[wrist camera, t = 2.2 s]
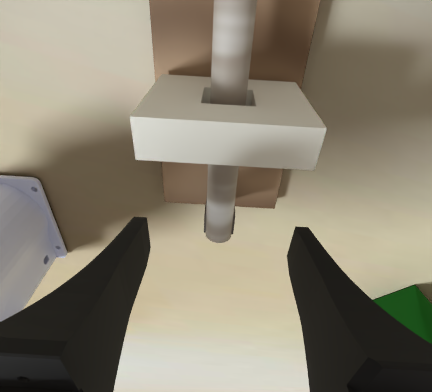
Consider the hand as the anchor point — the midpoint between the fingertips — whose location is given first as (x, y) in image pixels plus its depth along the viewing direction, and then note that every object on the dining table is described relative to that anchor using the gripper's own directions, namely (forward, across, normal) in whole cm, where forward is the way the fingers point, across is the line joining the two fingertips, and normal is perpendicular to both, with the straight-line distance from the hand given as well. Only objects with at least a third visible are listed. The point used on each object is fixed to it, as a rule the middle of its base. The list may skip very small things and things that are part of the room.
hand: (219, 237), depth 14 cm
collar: (+8, 0, -5) cm, 9 cm away
